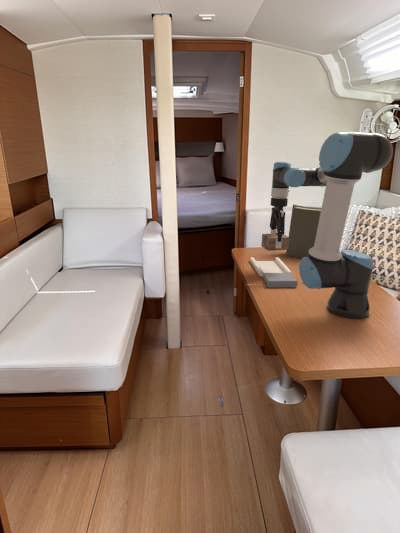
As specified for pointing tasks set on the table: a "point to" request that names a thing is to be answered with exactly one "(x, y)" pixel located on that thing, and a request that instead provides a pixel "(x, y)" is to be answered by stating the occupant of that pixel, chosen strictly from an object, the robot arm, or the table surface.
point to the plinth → (279, 280)
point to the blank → (270, 241)
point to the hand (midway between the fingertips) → (275, 245)
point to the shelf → (269, 266)
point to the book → (302, 230)
